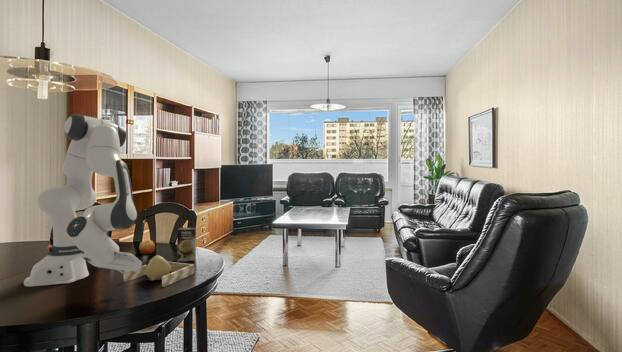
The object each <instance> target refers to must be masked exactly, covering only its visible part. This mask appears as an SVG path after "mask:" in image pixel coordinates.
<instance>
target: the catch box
mask: <svg viewBox="0 0 622 352" xmlns="http://www.w3.org/2000/svg"><path fill="white" fill-rule="evenodd" d="M167 262H168V263H169V264H170V266H171V271H170V272H171V273H169V274H168V275H165V276H163V277H162V279H161V288H165V287H167V286H170V285H172V284H174V283H176V282H178V281H181V280H183V279H186V278H187V277H189V276H192V275H194V274H195V273H196V271H195V269H196V267H195V266H196V265H195V264H194V263H185V262H177V261H176V262H175V261H174V262H173V261H167ZM145 270H146V264H144V265H143V264H142V265H141V267H140V269H139V270H138V271H137V272H135V271H130V272H129V274H124V273H123V283H127V282H130V281H132V280H136V279H137V278H141V277H144V276H145V275H146V273H145ZM146 276H147V275H146Z"/></svg>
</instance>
